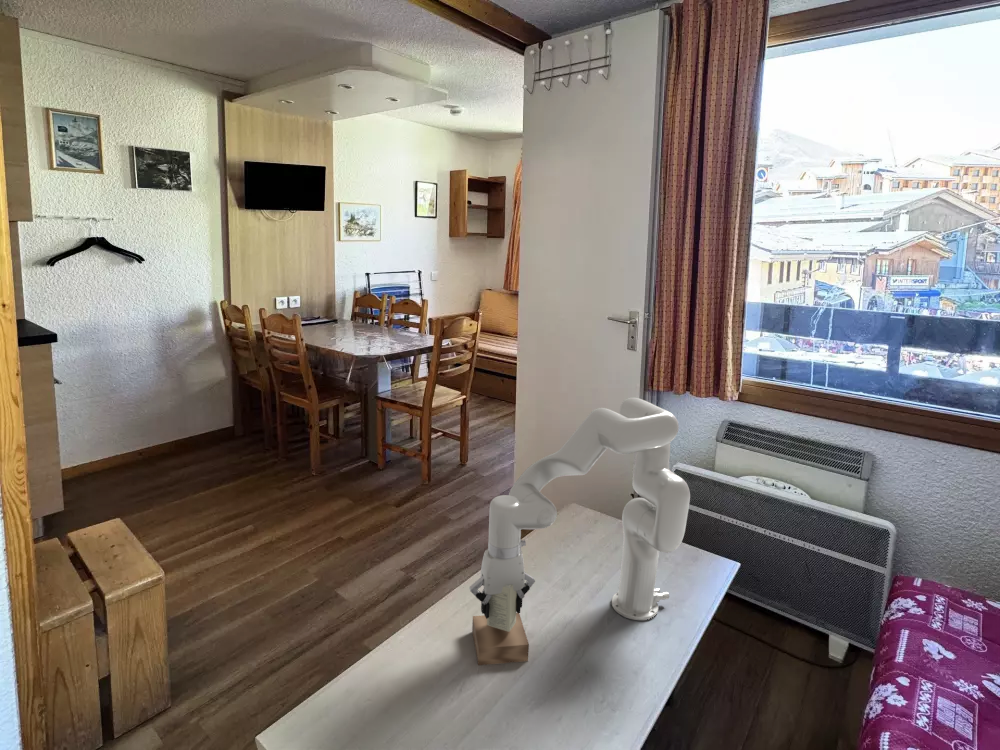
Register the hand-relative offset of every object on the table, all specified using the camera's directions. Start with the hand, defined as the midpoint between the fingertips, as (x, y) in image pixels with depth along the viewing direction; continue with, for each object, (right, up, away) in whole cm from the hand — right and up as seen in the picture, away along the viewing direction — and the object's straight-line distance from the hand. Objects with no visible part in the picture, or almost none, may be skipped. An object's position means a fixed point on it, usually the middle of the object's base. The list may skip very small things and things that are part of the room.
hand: (501, 612), depth 150 cm
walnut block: (-1, -10, +2) cm, 10 cm away
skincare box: (0, -3, +1) cm, 4 cm away
